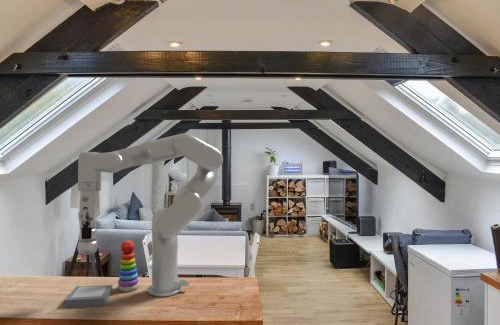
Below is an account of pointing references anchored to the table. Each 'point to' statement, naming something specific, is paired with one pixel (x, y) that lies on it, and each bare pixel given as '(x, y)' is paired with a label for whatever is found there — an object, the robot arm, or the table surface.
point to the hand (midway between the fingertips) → (88, 236)
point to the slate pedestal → (88, 296)
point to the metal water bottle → (87, 244)
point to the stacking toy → (128, 268)
